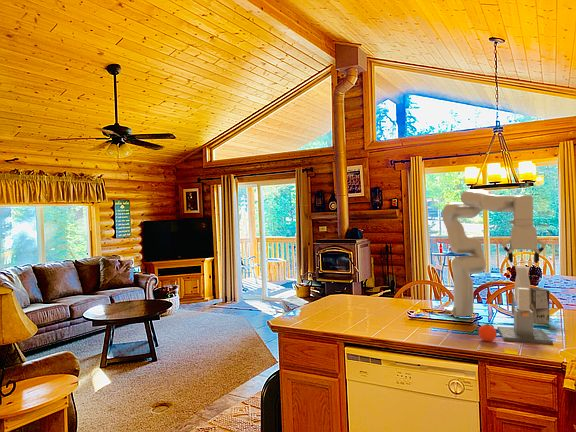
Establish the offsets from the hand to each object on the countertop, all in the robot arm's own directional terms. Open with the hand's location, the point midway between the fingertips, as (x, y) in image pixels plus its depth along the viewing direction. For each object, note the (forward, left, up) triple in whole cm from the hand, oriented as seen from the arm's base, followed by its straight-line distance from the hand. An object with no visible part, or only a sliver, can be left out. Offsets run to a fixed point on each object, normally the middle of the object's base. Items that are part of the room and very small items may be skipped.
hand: (523, 262), depth 186 cm
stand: (0, 0, -32) cm, 32 cm away
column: (0, 0, -31) cm, 31 cm away
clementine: (-16, -11, -33) cm, 38 cm away
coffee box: (+13, +32, -33) cm, 47 cm away
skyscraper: (+8, +46, -33) cm, 57 cm away
